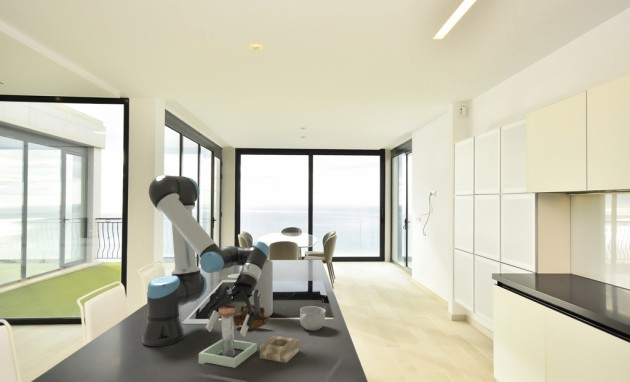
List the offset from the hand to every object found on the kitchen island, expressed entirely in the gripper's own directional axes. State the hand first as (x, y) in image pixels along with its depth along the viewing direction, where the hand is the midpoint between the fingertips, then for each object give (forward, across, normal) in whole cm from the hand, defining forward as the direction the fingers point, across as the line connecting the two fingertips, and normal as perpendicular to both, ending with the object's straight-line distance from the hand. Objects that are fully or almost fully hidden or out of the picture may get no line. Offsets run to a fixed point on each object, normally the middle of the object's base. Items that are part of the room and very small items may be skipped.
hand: (224, 332), depth 124 cm
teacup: (-20, +16, +34) cm, 43 cm away
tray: (+5, 0, +8) cm, 10 cm away
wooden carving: (-14, -8, +28) cm, 33 cm away
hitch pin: (+5, 0, +8) cm, 9 cm away
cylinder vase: (-27, -14, +41) cm, 51 cm away
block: (0, +16, +13) cm, 21 cm away
